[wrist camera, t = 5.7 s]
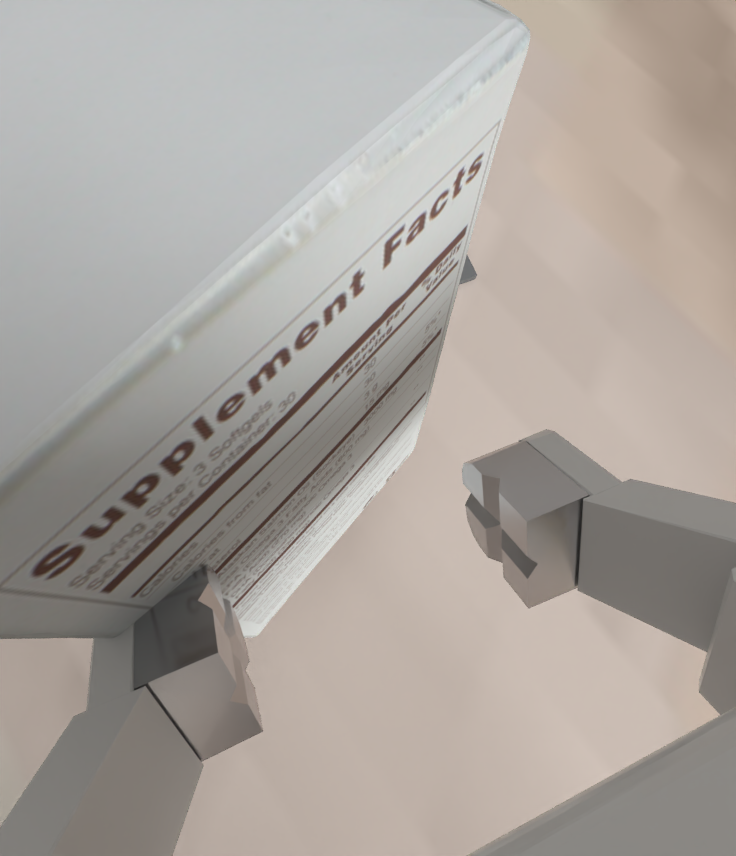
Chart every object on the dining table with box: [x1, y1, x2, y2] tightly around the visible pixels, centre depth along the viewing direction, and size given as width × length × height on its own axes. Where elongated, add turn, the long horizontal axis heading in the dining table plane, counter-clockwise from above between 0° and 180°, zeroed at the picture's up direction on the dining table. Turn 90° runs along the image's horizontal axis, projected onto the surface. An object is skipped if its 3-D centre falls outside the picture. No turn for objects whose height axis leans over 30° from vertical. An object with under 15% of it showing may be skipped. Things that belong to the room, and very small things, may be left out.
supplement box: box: [0, 0, 530, 639], centre depth 10 cm, size 7×7×13 cm
